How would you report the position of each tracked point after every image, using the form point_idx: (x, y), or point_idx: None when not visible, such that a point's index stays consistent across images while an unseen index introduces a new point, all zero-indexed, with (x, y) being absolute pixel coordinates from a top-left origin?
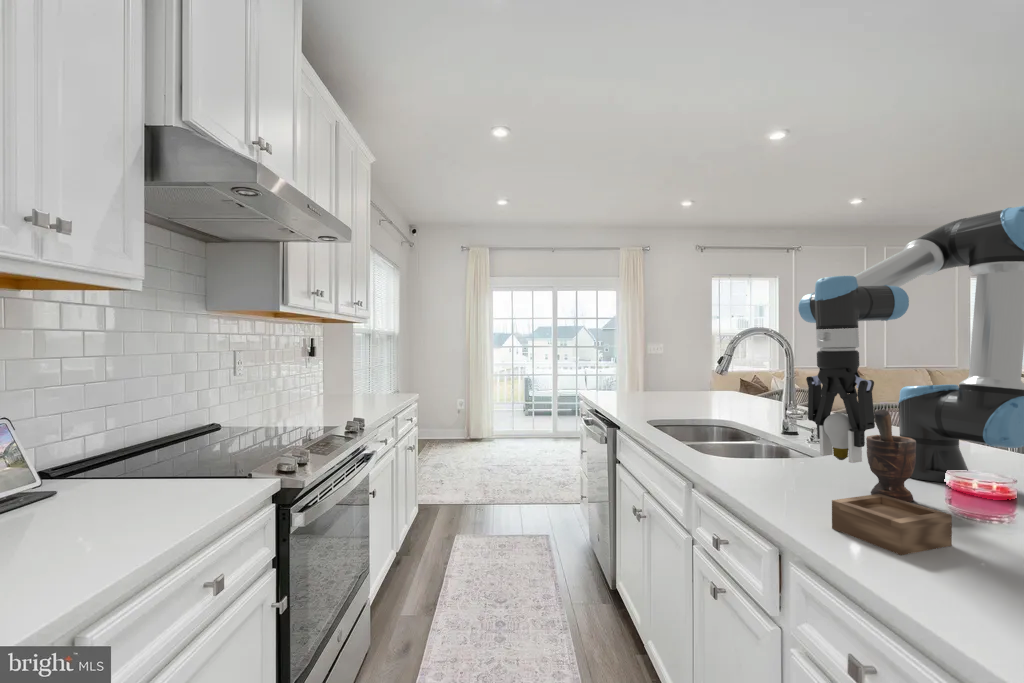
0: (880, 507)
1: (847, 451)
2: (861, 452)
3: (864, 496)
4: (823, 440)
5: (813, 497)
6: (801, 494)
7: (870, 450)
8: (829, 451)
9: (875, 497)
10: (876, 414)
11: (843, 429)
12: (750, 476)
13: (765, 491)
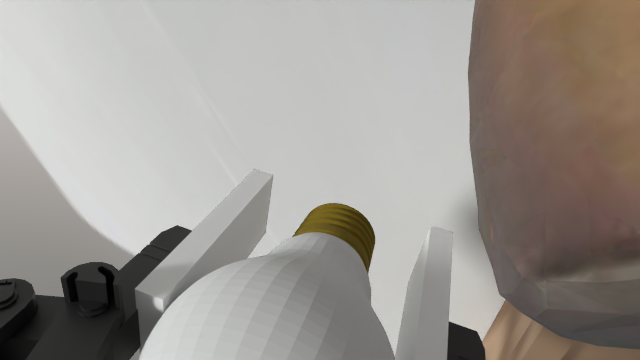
0: (585, 357)
1: (367, 258)
2: (450, 271)
3: (530, 358)
4: None
5: (298, 147)
6: (260, 145)
7: None
8: (261, 206)
9: (565, 347)
10: (564, 332)
11: None
12: (55, 78)
13: (196, 202)
